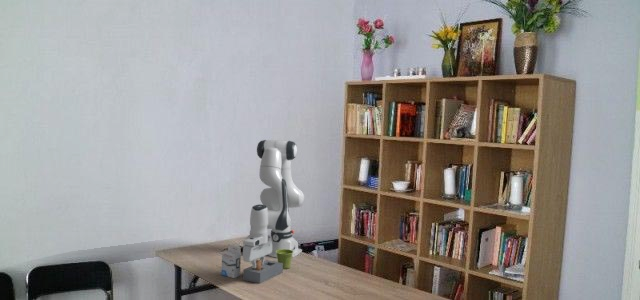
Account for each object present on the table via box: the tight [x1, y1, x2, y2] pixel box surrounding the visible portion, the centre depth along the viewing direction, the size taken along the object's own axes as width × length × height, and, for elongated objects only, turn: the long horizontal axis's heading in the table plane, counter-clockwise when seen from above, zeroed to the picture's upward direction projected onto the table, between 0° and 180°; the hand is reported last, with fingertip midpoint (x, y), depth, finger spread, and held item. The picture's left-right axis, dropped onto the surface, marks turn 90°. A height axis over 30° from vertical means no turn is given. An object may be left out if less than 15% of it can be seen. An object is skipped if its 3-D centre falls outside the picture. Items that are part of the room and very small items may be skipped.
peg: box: [255, 259, 261, 271], centre depth 230 cm, size 3×3×9 cm
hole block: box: [242, 259, 284, 284], centre depth 235 cm, size 20×10×5 cm, turn 152°
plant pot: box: [276, 249, 293, 270], centre depth 250 cm, size 9×9×9 cm
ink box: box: [220, 243, 242, 279], centre depth 234 cm, size 8×5×15 cm, turn 61°
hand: (257, 266), depth 230 cm, fingers open, 4 cm apart
